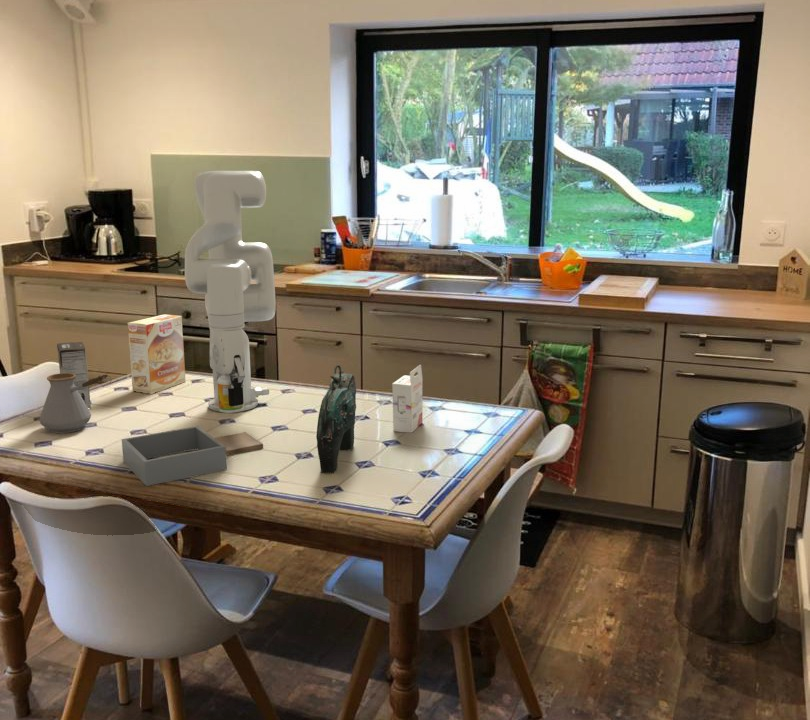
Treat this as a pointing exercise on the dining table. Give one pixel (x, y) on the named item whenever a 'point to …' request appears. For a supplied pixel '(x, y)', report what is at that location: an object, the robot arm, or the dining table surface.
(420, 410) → the ink cartridge box
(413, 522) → the dining table surface
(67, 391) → the coffee pot
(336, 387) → the green animal figurine
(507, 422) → the dining table surface
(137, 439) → the bin
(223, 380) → the supplement bottle
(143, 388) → the coffeecake box
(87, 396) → the coffee box
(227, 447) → the walnut board
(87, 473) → the dining table surface
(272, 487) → the dining table surface
